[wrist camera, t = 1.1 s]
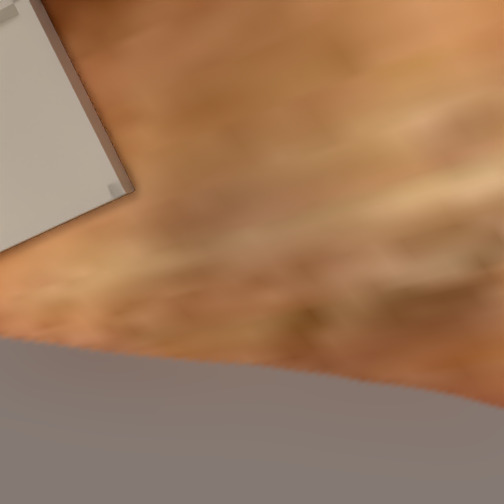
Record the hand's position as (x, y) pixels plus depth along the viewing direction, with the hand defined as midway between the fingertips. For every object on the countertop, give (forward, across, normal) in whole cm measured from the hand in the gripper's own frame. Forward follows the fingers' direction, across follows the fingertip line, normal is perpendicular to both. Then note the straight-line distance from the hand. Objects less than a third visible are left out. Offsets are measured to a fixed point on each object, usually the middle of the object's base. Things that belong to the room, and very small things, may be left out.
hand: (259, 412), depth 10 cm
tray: (+26, -20, +7) cm, 33 cm away
